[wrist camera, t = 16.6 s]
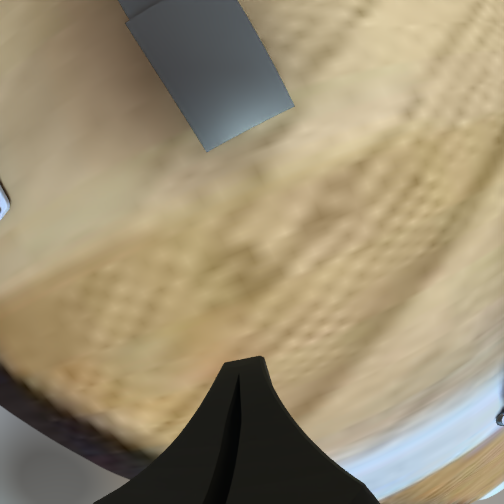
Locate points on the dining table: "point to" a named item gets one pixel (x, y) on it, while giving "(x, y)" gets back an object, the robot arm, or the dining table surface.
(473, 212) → the dining table surface
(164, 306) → the dining table surface
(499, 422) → the coffee press
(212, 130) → the domino
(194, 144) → the dining table surface
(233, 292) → the dining table surface
